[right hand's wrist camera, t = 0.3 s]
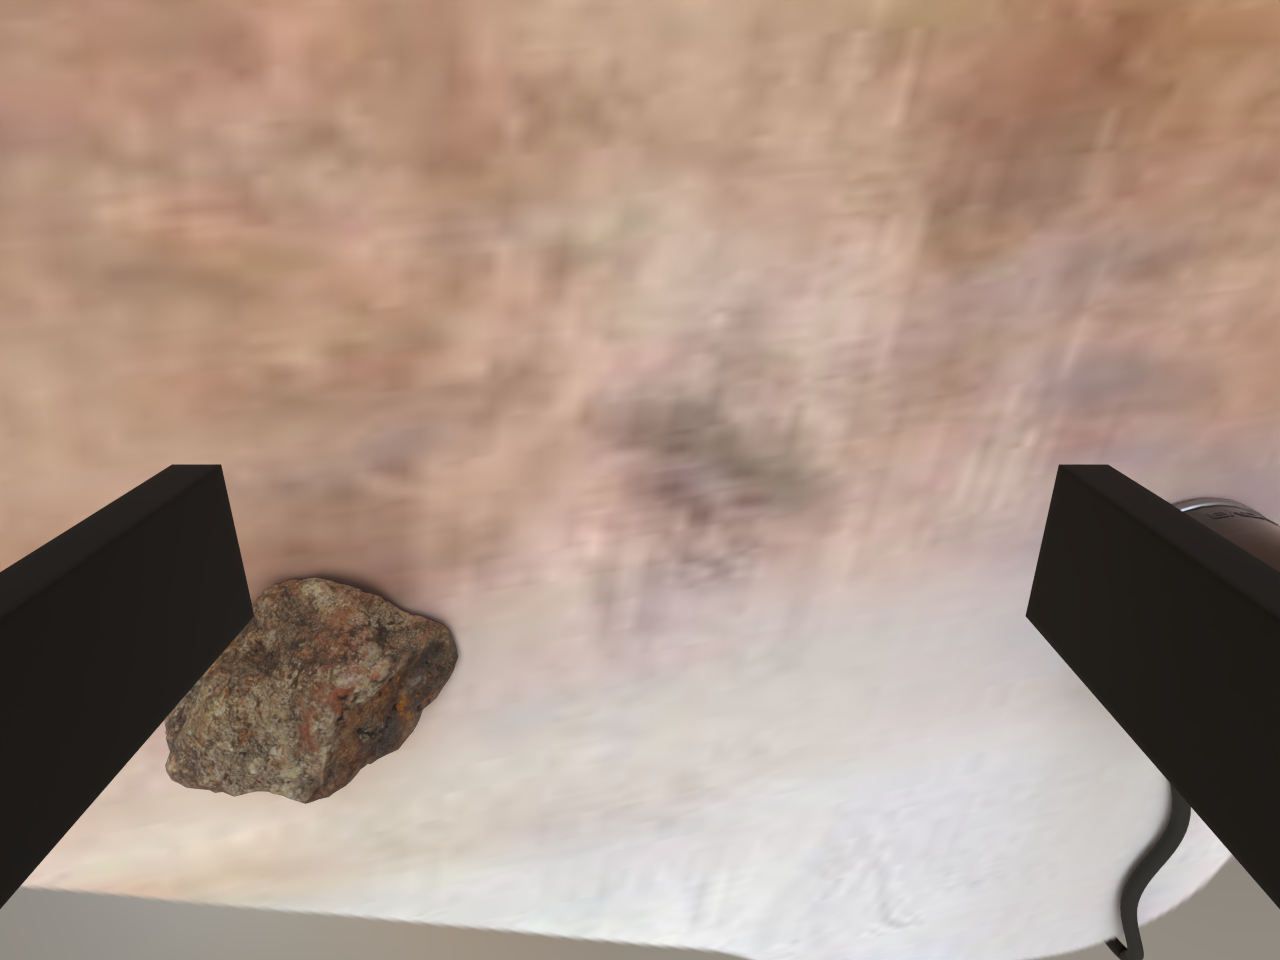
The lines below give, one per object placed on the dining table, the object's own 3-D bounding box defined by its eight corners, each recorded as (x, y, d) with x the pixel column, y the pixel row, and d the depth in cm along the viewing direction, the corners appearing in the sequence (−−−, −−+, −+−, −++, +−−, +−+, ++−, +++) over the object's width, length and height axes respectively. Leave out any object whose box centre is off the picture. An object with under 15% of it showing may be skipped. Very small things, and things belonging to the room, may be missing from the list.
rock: (434, 731, 49) (473, 603, 45) (406, 843, 41) (451, 699, 37) (194, 680, 46) (216, 540, 42) (115, 791, 38) (134, 630, 35)
